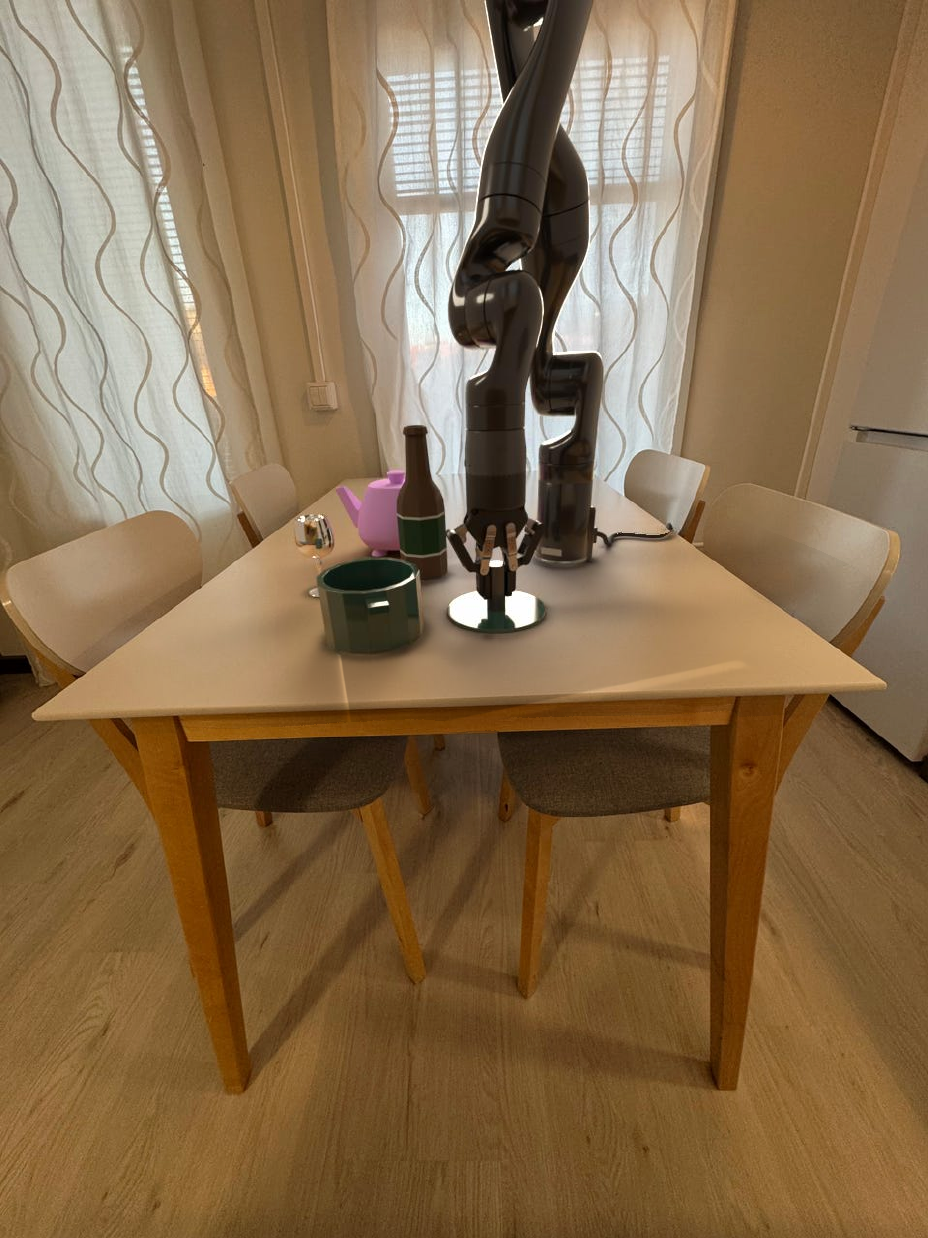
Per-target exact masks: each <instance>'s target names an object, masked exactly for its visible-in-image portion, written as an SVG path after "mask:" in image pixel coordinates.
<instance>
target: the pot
mask: <svg viewBox="0 0 928 1238" xmlns="http://www.w3.org/2000/svg"><path fill="white" fill-rule="evenodd" d="M315 579H316V588H318V594H319V597H318V599H319V605H320V610H321V617H322V622H323V628H324V633H325V639H326V644H327V645H328V648H330V649H331V650H332V651H334V653H337V654H340V655H341V652H344V653H349V654H352V655H374V654H381V653H386V652H393V651H395V650H398V649H401V648H403V647H406V646H408V645H410V644H411V643H412V642H414V641H416V640H417V639H418V638H419V637H421V635H422V634H423V633H422V632H423V630H424V628H425V624H424V612H423V599H422V597H423V596H422V585H421V580H420V571H419V569H418V568H417V566H416V565H415V564H413V563H410V562H408V561H406V560H401V558H394V557H370V556H365V557H364V556H363V557H357V558H356V557H355V558H353V559H352V560H348V561H343V562H339V563H336V564H333V565H332V566H329V567H327V568H325V569H322V572H321V573H320V574H319V573H318V575H317V576H316V578H315Z"/></svg>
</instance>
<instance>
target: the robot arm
mask: <svg viewBox="0 0 928 1238" xmlns="http://www.w3.org/2000/svg"><path fill="white" fill-rule="evenodd" d="M594 3H595V0H484V5H485V10H486V16H487V22H488V27H489V34H490V40H491V47H492V52H493V58H494V64H495V69H496V74H497V80H498V88H499V92H500V99H501V104H502V107H501V108H500V111H499V113H498V115H497V116H496V119H495V121H494V123H493V125H492V128H491V130H490V133H489V135H488V138H487V141H486V144H485V147H484V151H483V154H482V160H481V165H480V171H479V180H478V185H477V186H478V187H477V194H476V203H475V209H474V210H475V211H474V218H473V219H474V220H473V224H472V227H471V230H470V233H469V235H468V237H467V239H466V242H465V245H464V248H463V251H462V253H461V257H460V259H459V262H458V265H457V268H456V270H455V273H454V276H453V279H452V283H451V286H450V290H449V294H448V301H447V319H448V324H449V329H450V332H451V334H452V336H453V338H454V340H455V341H456V343H457V344H458V345H459V346H460V347H462V348H463V349H465V350H470V351H485V350H493V349H495V351H494V354H493V357H492V361H491V364H490V366H489V368H488V369H487V370H485V371H483V372H480V373H477V374H475V375H473V376H470V377H469V379H468V380H467V381H466V384H465V394H464V395H465V396H464V397H465V399H464V401H465V403H464V405H465V429H466V430H465V441H464V442H465V443H464V459H463V466H464V469H465V470H464V471H465V473H464V474H465V499H466V500H465V502H466V503H465V504H466V505H465V506H466V512H465V516H464V517H463V521H462V523H461V524H459V525H458V526H457V527H455V528H448V529H447V528H446V532H445V534H446V539H447V541H448V542H449V544H450V546H451V548H452V549H453V551H454V552H455V554H456V556H457V558H458V560H459V561H460V563H461V565H462V567H464V568H465V570H466V571H467V572H468V573H475V591H477V592H478V594H479V595H480V596H481V597H482V598H483V599H484V600H489V599H490V575H489V574H488V572H489V566H490V561H491V559H492V558H493V552H494V550H495V549H497V548H500V549H499V550H500V551H501V556H502V561H503V562H505V563H506V597H509V596H512V592H515V591H516V590H517V571H518V569H519V568H520V567H522V566H528V565H530V563H531V561H532V559H533V556H534V558H535V559H536V560H537V561H538V562H541V563H543V564H545V565H546V564H547V565H553V566H574V565H579V564H582V563H585V562H590V561H591V562H592V561H593V551H594V544H597V542H598V541H597V540H598V537H600V538H601V539H602V540H603V544H604V545H605V546H607V547H609V546H611V545H612V543H613V540H614V539H616V538H620V537H629V538H630V537H631V538H638V539H639V538H641V539H662V538H665V537H667V536H668V535H669V534H670V532H668V533H665V534H660V535H646V534H647V533H645V534H635V533H636V532H634V533H622V532H623V531H618V532H614V533H612V534H610V536H608V535H607V534H605V533H604V532H602V531H599V527H598V526H596V525H595V524H596V513H597V509H596V508H597V507H595V506H593V505H592V501H593V488H594V474H595V462H596V461H595V460H596V449H597V448H596V447H597V439H598V427H599V419H600V410H601V403H602V396H603V388H604V376H605V369H604V361H603V358H602V356H601V354H600V353H599V352H597V351H595V350H586V351H565V352H556V351H555V345H554V341H555V331H556V327H557V326H556V325H557V323H558V320H559V317H560V315H561V312H562V310H563V307H564V304H565V302H566V300H567V298H568V296H569V294H570V292H571V290H572V288H573V286H574V284H575V283H576V280H577V278H578V276H579V275H580V272H581V270H582V268H583V265H584V263H585V260H586V257H587V255H588V252H589V248H590V242H591V228H590V227H591V220H590V219H591V218H590V215H591V213H590V211H591V210H590V185H589V178H588V175H587V171H586V169H585V166H584V163H583V161H582V158H581V157H580V154H579V153H578V152H577V149H576V147H575V146H574V143H573V142H572V140H571V138H570V136H569V135H568V133H567V132H566V130H565V128H564V127H563V124H562V122H561V118H562V114H563V111H564V108H565V104H566V101H567V98H568V94H569V91H570V88H571V84H572V81H573V78H574V75H575V70H576V68H577V64H578V60H579V57H580V53H581V50H582V46H583V41H584V38H585V35H586V31H587V28H588V25H589V22H590V17H591V13H592V10H593V7H594ZM539 25H540V27H539V29H538V33H537V36H536V38H535V29H534V27H536V26H539ZM517 261H519V265H520V268H515V269H509V268H510V267H511V266H512V265H513V264H514V263H516V262H517ZM528 382H529V391H530V392H529V393H530V400H531V404H532V407H533V410H534V412H535V413H536V414H537V415H538V416H540V417H547V418H575V420H574V423H573V426H572V427H571V428H570V429H569V430H568V431H566V432H565V433H563V434H561V435H559V436H556V437H554V438H550V439H547V440H545V441H543V442H541V444H540V445H539V447H538V457H537V459H538V460H537V461H538V462H537V464H538V465H537V493H536V494H537V498H536V500H537V501H536V519H535V518H530V517H529V514H528V513H527V510H526V502H527V501H526V498H527V497H526V495H527V492H526V491H527V439H526V428H525V427H526V393H527V387H528ZM666 528H667V529H668V530H670V531H671V530H674V527H673V525H672V523H671V522H667V523H666V525H665V529H666ZM522 531H524V535H523V537H522V539H521V542H520V544H519V546H518V545H517V539H518V538H519V536H520V535H521V533H522ZM468 533H469V534H470V536H471V537H472V538H473V539H474V541H475V547H474V551H475V557H474V558H475V559H474V560H473V558H472V557H471V555H470V553H469V552H468V549H467V548H466V545H465V544H466V542H467V534H468ZM617 533H618V534H617Z"/></svg>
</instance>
